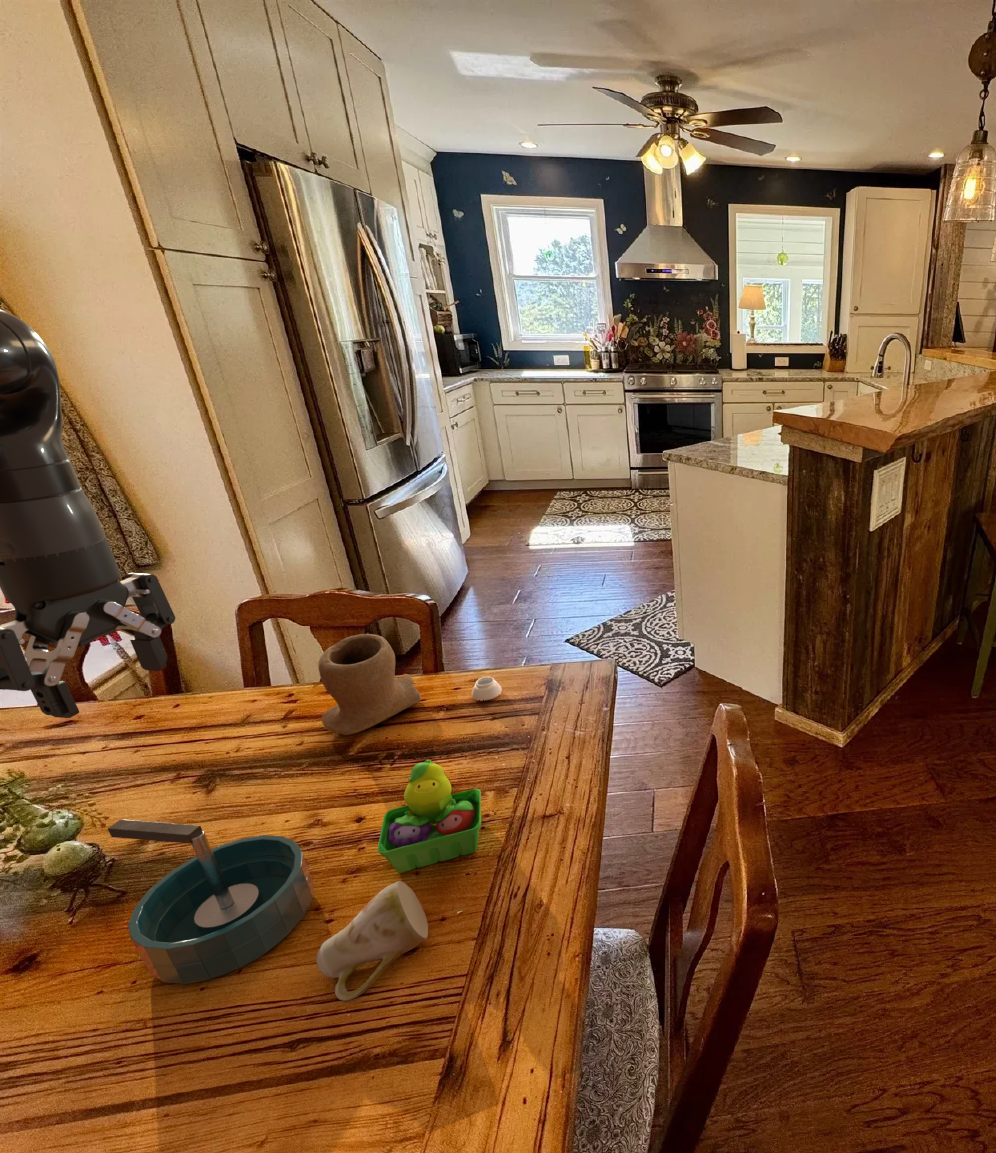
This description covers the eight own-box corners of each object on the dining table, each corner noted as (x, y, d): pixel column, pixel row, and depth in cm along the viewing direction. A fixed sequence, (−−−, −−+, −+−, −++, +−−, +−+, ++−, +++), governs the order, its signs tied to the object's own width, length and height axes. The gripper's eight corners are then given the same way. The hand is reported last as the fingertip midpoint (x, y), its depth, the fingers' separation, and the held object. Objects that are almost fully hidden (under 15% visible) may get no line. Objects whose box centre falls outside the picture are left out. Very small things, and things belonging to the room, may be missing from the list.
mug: (313, 958, 66) (345, 867, 66) (412, 956, 71) (441, 871, 71) (302, 1007, 59) (337, 906, 60) (412, 1001, 64) (444, 908, 65)
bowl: (110, 982, 63) (86, 941, 60) (233, 867, 76) (218, 830, 74) (242, 995, 62) (224, 954, 60) (343, 876, 75) (331, 839, 73)
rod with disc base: (277, 900, 71) (243, 812, 66) (235, 945, 66) (194, 853, 61) (182, 891, 72) (141, 804, 67) (133, 935, 67) (84, 844, 62)
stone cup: (349, 751, 97) (325, 669, 91) (315, 724, 103) (290, 646, 97) (441, 706, 108) (425, 631, 103) (406, 684, 114) (389, 612, 109)
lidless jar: (490, 704, 109) (507, 689, 114) (487, 690, 108) (505, 676, 113) (466, 700, 110) (484, 685, 115) (463, 686, 109) (481, 672, 114)
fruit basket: (385, 885, 74) (363, 814, 70) (393, 833, 82) (375, 765, 77) (487, 857, 78) (473, 787, 74) (486, 810, 86) (473, 744, 82)
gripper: (92, 516, 63) (149, 654, 69) (-99, 567, 50) (-8, 731, 56) (161, 520, 62) (211, 658, 69) (-14, 572, 49) (68, 737, 56)
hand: (113, 691), depth 62 cm, fingers open, 8 cm apart
